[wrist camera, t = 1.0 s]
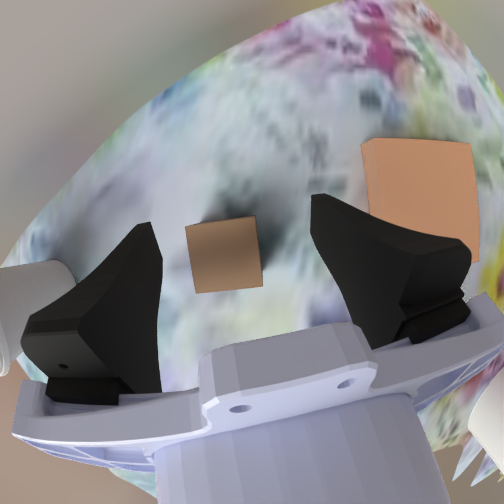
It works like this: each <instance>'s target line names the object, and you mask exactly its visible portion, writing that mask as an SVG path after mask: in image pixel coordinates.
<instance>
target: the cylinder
mask: <svg viewBox="0 0 504 504" xmlns="http://www.w3.org/2000/svg"><path fill="white" fill-rule="evenodd" d="M468 429H469V430H470V432H471V433H472V434H473V435H474V437H475V438H476V439H477V440H478V442H479V443H480V444H481V445H482V447H483V448H484V449H485V450H486V452H487V453H488V454H489V456H490V457H491V458H492V460H493V461H494V462H495V464H496V465H497V466H498V468H499V469H500V470H501V472H502V473H503V474H504V367H503V368H502V369H501V370H500V371H499V372H498V373H497V374H496V376H495V377H494V378H493V379H492V381H491V382H490V383H489V384H488V386H487V387H486V389H485V390H484V392H483V393H482V394H481V396H480V398H479V400H478V401H477V403H476V405H475V406H474V408H473V411H472V413H471V415H470V418H469V422H468Z"/></svg>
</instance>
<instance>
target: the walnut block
mask: <svg viewBox="0 0 504 504" xmlns="http://www.w3.org/2000/svg"><path fill="white" fill-rule="evenodd" d="M185 231H186V237H187V244H188V251H189V257H190V263H191V269H192V275H193V281H194V286H195V292H196V293H207V292H217V291H227V290H236V289H245V288H254V287H263V274H262V264H261V256H260V248H259V240H258V232H257V224H256V216H255V215H254V216H246V217H239V218H231V219H224V220H216V221H209V222H202V223H197V224H193V225H189V226H186V227H185Z"/></svg>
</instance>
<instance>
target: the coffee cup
mask: <svg viewBox="0 0 504 504" xmlns="http://www.w3.org/2000/svg"><path fill="white" fill-rule="evenodd" d="M75 286H76V282H75V279H74V277H73V275H72V273H71V271H70V270H69V269H68V267H67V266H66V265H65V264H63V263H62V262H60V261H58V260H47V261H41V262H35V263H29V264H23V265H17V266H11V267H5V268H0V376H4V375H6V374H7V373H8V371H9V367H10V363H11V362H12V361H13V360H14V359H16V358H17V357H18V356H19V355H20V354H21V353H22V352H23V349H22V347H21V344H20V340H21V337H22V334H23V332H24V329H25V326H26V324H27V321H28V318H29V316H30V315H32V314H33V313H35V312H37V311H39V310H40V309H42V308H44V307H46V306H47V305H49V304H51V303H52V302H54V301H55V300H57V299H58V298H60V297H61V296H63V295H64V294H65V293H67V292H68V291H70V290H71V289H72V288H73V287H75Z"/></svg>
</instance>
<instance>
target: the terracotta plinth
mask: <svg viewBox="0 0 504 504" xmlns="http://www.w3.org/2000/svg"><path fill="white" fill-rule="evenodd" d="M361 150H362V156H363V162H364V169H365V176H366V183H367V191H368V200H369V210H370V215H372V216H374V217H376V218H379V219H381V220H384V221H387V222H389V223H392V224H395V225H398V226H401V227H404V228H407V229H411V230H414V231H418V232H422V233H427V234H432V235H436V236H443V237H450V238H457V239H460V240H461V241H462V242H463V243H464V244H465V245H466V246H467V247H468V248H469V249H470V251H471V253H472V261H471V263H473V262H478V261H479V209H478V195H477V185H476V176H475V169H474V162H473V156H472V150H471V145H470V144H468V143H459V142H449V141H438V140H423V139H402V138H372V139H370V140H369V141H367V142H365V143H364V144H362V145H361Z"/></svg>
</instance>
